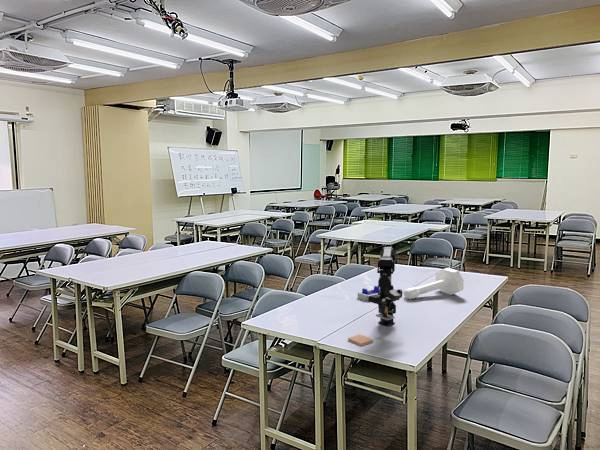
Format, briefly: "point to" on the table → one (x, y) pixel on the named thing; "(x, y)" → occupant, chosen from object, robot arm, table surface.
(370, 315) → the table surface
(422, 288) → the white mallet
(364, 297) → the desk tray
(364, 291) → the cable clip
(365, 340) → the tile
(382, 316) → the float
